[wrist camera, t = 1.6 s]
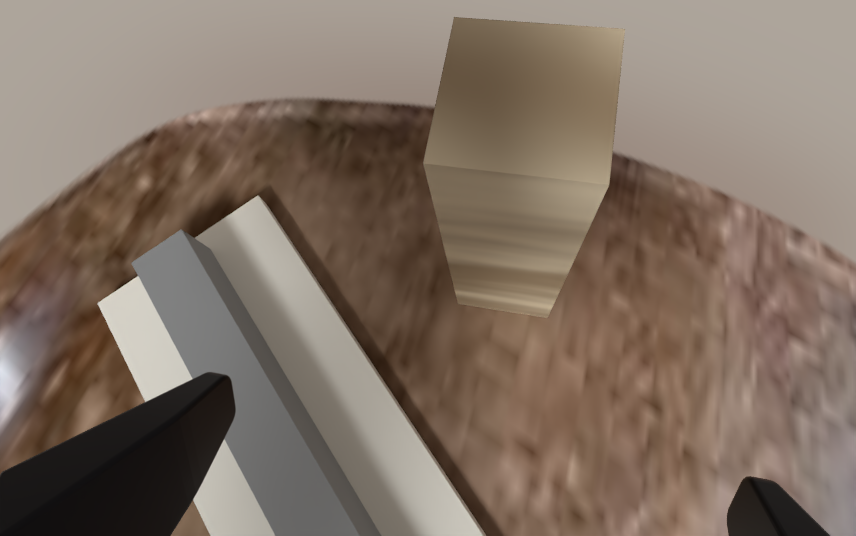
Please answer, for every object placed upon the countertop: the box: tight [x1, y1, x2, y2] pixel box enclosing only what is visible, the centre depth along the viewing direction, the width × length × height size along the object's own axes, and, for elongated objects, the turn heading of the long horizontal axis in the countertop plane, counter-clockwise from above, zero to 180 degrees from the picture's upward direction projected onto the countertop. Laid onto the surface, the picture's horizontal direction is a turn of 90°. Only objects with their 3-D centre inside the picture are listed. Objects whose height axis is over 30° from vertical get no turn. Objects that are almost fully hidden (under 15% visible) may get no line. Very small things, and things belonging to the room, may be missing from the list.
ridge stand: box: [98, 196, 486, 536], centre depth 21 cm, size 22×9×4 cm, turn 35°
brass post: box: [423, 17, 625, 318], centre depth 18 cm, size 4×4×13 cm
